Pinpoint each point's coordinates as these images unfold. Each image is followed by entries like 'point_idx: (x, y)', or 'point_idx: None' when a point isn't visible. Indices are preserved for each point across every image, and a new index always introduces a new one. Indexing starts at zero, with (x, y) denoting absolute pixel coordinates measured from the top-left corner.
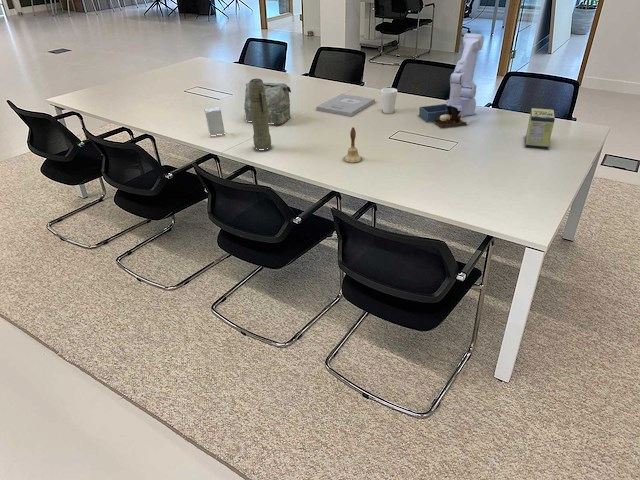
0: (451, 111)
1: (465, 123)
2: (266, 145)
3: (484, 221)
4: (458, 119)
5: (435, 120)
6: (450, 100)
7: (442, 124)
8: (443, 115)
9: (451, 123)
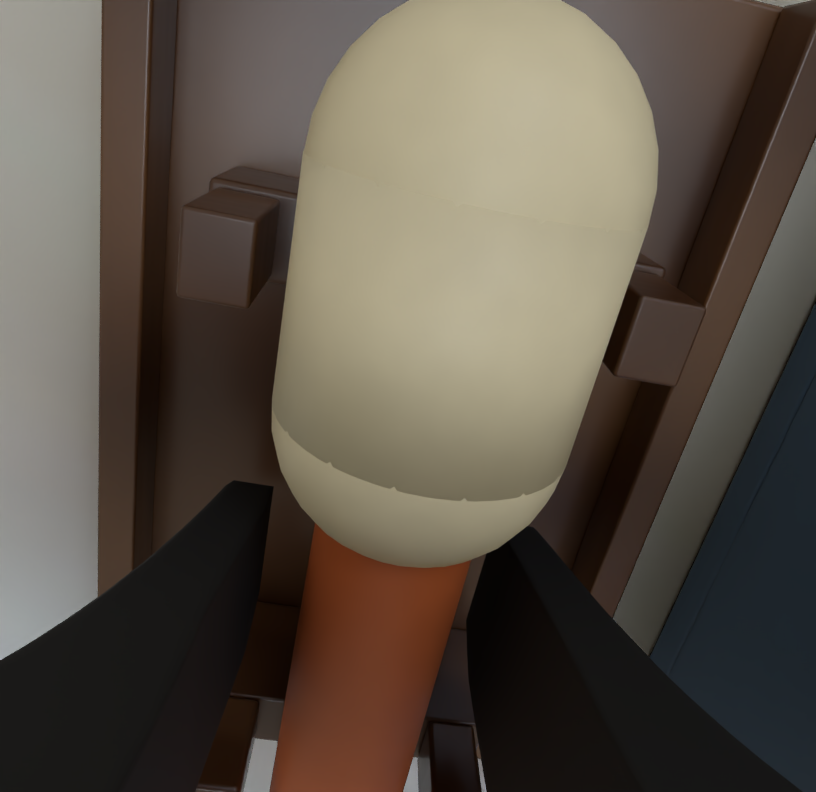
0: (114, 776)
1: None
2: None
3: None
4: (235, 682)
5: (802, 22)
6: None
7: None
8: (442, 185)
9: (131, 350)
